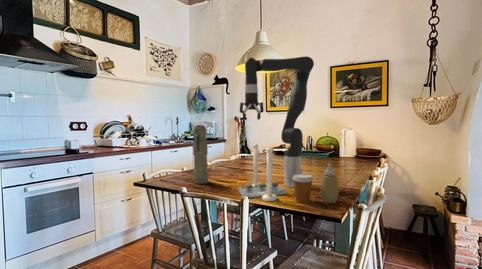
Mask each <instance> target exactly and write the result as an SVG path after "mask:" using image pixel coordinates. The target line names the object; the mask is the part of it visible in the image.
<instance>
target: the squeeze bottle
mask: <svg viewBox="0 0 482 269" xmlns="http://www.w3.org/2000/svg"><path fill="white" fill-rule="evenodd" d="M332 167H333V166H332V163H331V162H329V163H327V168H326V169H325V170H324V172H323V175H322V177H321V184H320V191H319V192H320V197H321V200H322V202H323V203H325V204H326V203H327V204H336V203H337V202H338V201H337V200H338V197H339V186H338V184H339V183H338V177H337V176H336V171H335V170H333V168H332Z"/></svg>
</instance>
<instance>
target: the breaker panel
mask: <svg viewBox="0 0 482 269" xmlns="http://www.w3.org/2000/svg"><path fill="white" fill-rule="evenodd" d="M265 185H266V187H265V188H259V186H253V188H252V189H249V190H248V189H246V186H239V187H238V193H239V194H241V195H242V197H243V196H247V197H249V198H262V196H263V195H265V194H267V184H265ZM272 194H274V195H276V196H284V195H287V189H286V188H284V187H283V186H281V185H279V184H278V186H277V187H274V188H273V187H272ZM249 198H248V199H249Z"/></svg>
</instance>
